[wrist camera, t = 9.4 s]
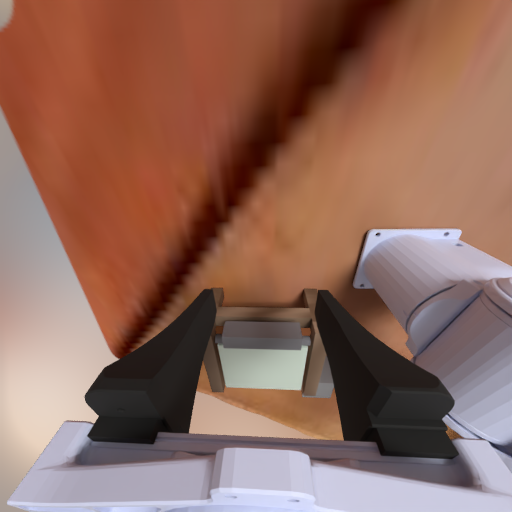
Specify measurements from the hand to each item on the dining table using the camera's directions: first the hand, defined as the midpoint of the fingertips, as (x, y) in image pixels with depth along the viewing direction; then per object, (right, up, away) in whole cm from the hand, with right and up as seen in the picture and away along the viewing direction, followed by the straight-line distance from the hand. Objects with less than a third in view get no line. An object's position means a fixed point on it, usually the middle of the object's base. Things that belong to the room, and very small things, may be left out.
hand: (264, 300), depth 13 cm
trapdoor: (0, -9, +10) cm, 14 cm away
